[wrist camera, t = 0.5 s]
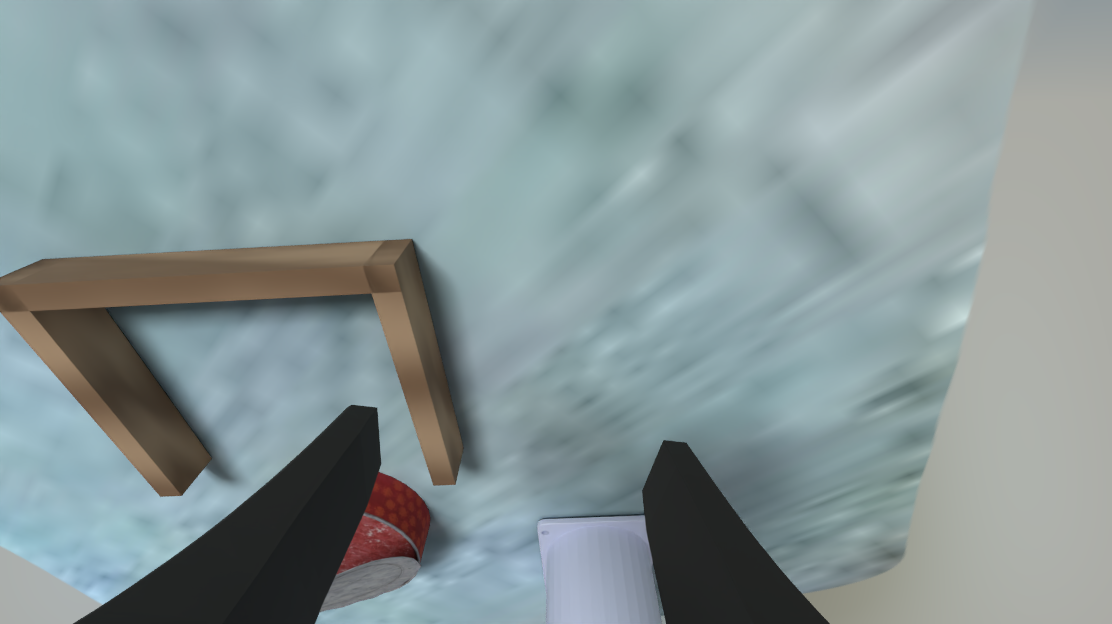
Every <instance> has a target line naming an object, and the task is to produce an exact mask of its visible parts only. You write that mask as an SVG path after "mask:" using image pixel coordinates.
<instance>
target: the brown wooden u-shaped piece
mask: <svg viewBox="0 0 1112 624" xmlns="http://www.w3.org/2000/svg"><path fill="white" fill-rule="evenodd" d="M370 293H372V297H373V300H374V303H375V306H376V309H377V312H378V315H379V318H380V321H381V324H382V327H383V331H384V334H385V337H386V340H387V343H388V346H389V349H390V352H391V355H392V358H393V362H394V365H395V368H396V371H397V374H398V377H399V380H400V383H401V386H402V389H403V392H404V396H405V399H406V402H407V405H408V408H409V411H410V414H411V417H412V420H413V423H414V427H415V430H416V433H417V436H418V439H419V442H420V445H421V448H422V451H423V454H424V457H425V461H426V464H427V467H428V470H429V473H430V476H431V479H432V482H433V485H456V480H457V476H458V471H459V466H460V462H461V457H462V453H463V444H462V440H461V436H460V431H459V427H458V423H457V419H456V415H455V411H454V407H453V403H452V399H451V395H450V391H449V387H448V383H447V379H446V375H445V371H444V367H443V363H442V359H441V355H440V351H439V347H438V343H437V339H436V335H435V330H434V326H433V322H432V318H431V314H430V310H429V306H428V302H427V298H426V294H425V290H424V286H423V282H422V278H421V274H420V270H419V266H418V262H417V258H416V254H415V250H414V246H413V242H412V239H404V240H386V241H368V242H350V243H331V244H313V245H295V246H277V247H258V248H240V249H222V250H204V251H185V252H167V253H149V254H131V255H112V256H94V257H76V258H58V259H42V260H40V261H37V262H35V263H33V264H30V265H28V266H26V267H23V268H21V269H19V270H16V271H14V272H12V273H9V274H7V275H5V276H2V277H0V312H1V313H2V314H3V316H4V317H5V318H6V319H7V320H8V321H9V322H10V324H11V325H12V326H13V327H14V328H15V329H16V331H17V332H18V333H19V334H20V335H21V336H22V337H23V339H24V340H25V341H26V342H27V343H28V344H29V346H30V347H31V348H32V349H33V350H34V351H35V352H36V354H37V355H38V356H39V357H40V358H41V359H42V361H43V362H44V363H45V364H46V365H47V366H48V367H49V369H50V370H51V371H52V372H53V373H54V374H55V376H56V377H57V378H58V379H59V380H60V381H61V382H62V384H63V385H64V386H65V387H66V388H67V389H68V391H69V392H70V393H71V394H72V395H73V396H74V397H75V399H76V400H77V401H78V402H79V403H80V404H81V406H82V407H83V408H84V409H85V410H86V411H87V412H88V414H89V415H90V416H91V417H92V418H93V419H94V421H95V422H96V423H97V424H98V425H99V426H100V427H101V429H102V430H103V431H104V432H105V433H106V434H107V436H108V437H109V438H110V439H111V440H112V441H113V442H114V444H115V445H116V446H117V447H118V448H119V449H120V451H121V452H122V453H123V454H124V455H125V456H126V457H127V459H128V460H129V461H130V462H131V463H132V464H133V466H134V467H135V468H136V469H137V470H138V471H139V472H140V474H141V475H142V476H143V477H144V478H145V479H146V481H147V482H148V483H149V484H150V485H151V486H152V487H153V489H154V490H155V491H156V492H157V493H158V494H159V496H160V497H163V496H182V495H183V494H184V492H185V491H186V490H187V489H188V487H189V486H190V485H191V484H192V483H193V481H194V480H195V479H196V478H197V476H198V475H199V474H200V473H201V472H202V470H203V469H204V468H205V467H206V465H207V464H208V463H209V462H210V460H211V459H212V458H211V457H210V455H209V454H208V452H207V451H206V450H205V448H204V447H203V445H202V444H201V443H200V441H199V440H198V438H197V437H196V436H195V434H194V433H193V431H192V430H191V429H190V427H189V426H188V424H187V423H186V422H185V420H184V419H183V417H182V416H181V414H180V413H179V412H178V410H177V409H176V407H175V406H174V405H173V403H172V402H171V400H170V399H169V398H168V396H167V395H166V393H165V392H164V391H163V389H162V388H161V386H160V385H159V384H158V382H157V381H156V379H155V378H154V377H153V375H152V374H151V372H150V371H149V370H148V368H147V367H146V365H145V364H144V363H143V361H142V360H141V358H140V357H139V356H138V354H137V353H136V351H135V350H134V349H133V347H132V346H131V344H130V343H129V342H128V340H127V339H126V337H125V336H124V334H123V333H122V332H121V330H120V329H119V327H118V326H117V325H116V323H115V322H114V320H113V319H112V318H111V316H110V315H109V313H108V312H107V311H106V309H105V308H104V307H119V306H139V305H158V304H177V303H197V302H216V301H235V300H255V299H274V298H293V297H312V296H332V295H351V294H370Z"/></svg>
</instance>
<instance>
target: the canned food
mask: <svg viewBox="0 0 1112 624" xmlns="http://www.w3.org/2000/svg"><path fill="white" fill-rule="evenodd" d="M429 526H430V514H429V510H428V508H427V506H426V504H425V502H424V501H423V500H422V498H421V497H420V496H419V495H418V494H417V493H416V492H415V491H414V490H412V489H411V488H410V487H408V486H407V485H406V484H404V483H402V482H400V481H399V480H397V479H395V478H393V477H391V476H388V475H386V474H383V473H380V472H378V475H377V478H376V481H375V485H374V488H373V491H372V494H371V496H370V499H369V502H368V505H367V508H366V510H365V512H364V514H363V517H362V519H361V521H360V523H359V526H358V528H357V530H356V532H355V534H354V537H353V539H352V541H351V543H350V545H349V548H348V550H347V552H346V554H345V556H344V559H343V561H342V563H341V565H340V567H339V570H338V572H337V574H336V576H335V578H334V581H333V583H332V585H331V587H330V589H329V592H328V594H327V596H326V598H325V600H324V603H323V605H322V607H321V610H320V612H322V611H325V610H330V609H336V608H341V607H345V606H347V605H350V604H353V603H356V602H358V601H363V600H367V599H371V598H374V597H377V596H379V595H381V594H383V593H386V592H390V591H393V590H396V589H398V588H401V587H402V586H404V585H405V584H407V583H409V582H410V581H411V580H412V579H413V578H414V577H415V576H416V574H417V572H418V570H419V568H420V567H421V565H420V562H421V558H422V554H423V550H424V546H425V542H426V538H427V534H428V530H429Z"/></svg>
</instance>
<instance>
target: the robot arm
mask: <svg viewBox="0 0 1112 624" xmlns="http://www.w3.org/2000/svg"><path fill="white" fill-rule="evenodd" d="M380 466H381V455H380V441H379V427H378V413H377V408H375V407H366V406H357V405H350V406H349V407H347V408H346V409H345V410H344V411H343V412H342V413H341V414H340V415H339V416H338V417H337V418H336V419H335V420H334V421H333V422H332V423H331V424H330V425H329V426H328V427H327V428H326V429H325V430H324V431H323V432H322V433H321V434H320V435H319V436H318V437H317V438H316V439H315V440H314V441H313V442H312V443H311V444H309V445H308V446H307V447H306V448H305V449H304V450H303V451H302V452H301V453H300V454H299V455H298V456H297V457H295V458H294V459H293V460H292V461H291V462H290V463H289V464H288V465H287V466H286V467H284V468H283V469H282V470H281V471H280V472H279V473H278V474H277V475H276V476H274V477H273V478H272V479H271V480H270V481H269V482H268V483H266V484H265V485H264V486H263V487H262V488H260V489H259V490H258V491H257V492H256V493H254V494H253V495H252V496H251V497H250V498H249V499H247V500H246V501H245V502H244V503H243V504H241V505H240V506H239V507H238V508H237V509H235V510H234V511H233V512H232V513H230V514H229V515H228V516H227V517H225V518H224V519H223V520H222V521H220V522H219V523H218V524H217V525H215V526H214V527H213V528H211V529H210V530H209V531H207V532H206V533H205V534H204V535H202V536H201V537H200V538H198V539H197V540H196V541H194V542H193V543H191V544H190V545H189V546H187V547H186V548H185V549H183V550H182V551H181V552H179V553H178V554H177V555H175V556H174V557H172V558H171V559H170V560H168V561H167V562H165V563H164V564H162V565H161V566H160V567H158V568H157V569H155V570H154V571H152V572H151V573H149V574H148V575H147V576H145V577H144V578H142V579H141V580H139V581H138V582H136V583H135V584H134V585H132V586H131V587H129V588H128V589H126V590H125V591H123V592H122V593H120V594H119V595H117V596H116V597H114V598H113V599H111V600H110V601H108V602H107V603H105V604H104V605H102V606H101V607H99V608H97V609H96V610H95V611H93V612H91V613H89V614H88V615H86V616H85V617H83V618H81V619H80V620H78V621H77V622H75V623H73V624H315V622H316V619H317V617H318V615H319V612H320V610H321V607H322V605H323V603H324V600H325V598H326V596H327V594H328V592H329V589H330V587H331V585H332V583H333V581H334V578H335V576H336V574H337V572H338V570H339V567H340V565H341V563H342V561H343V559H344V556H345V554H346V552H347V550H348V548H349V545H350V543H351V541H352V539H353V537H354V534H355V532H356V530H357V528H358V526H359V523H360V521H361V519H362V517H363V514H364V512H365V510H366V508H367V505H368V502H369V499H370V496H371V494H372V491H373V488H374V485H375V481H376V478H377V475H378V472H379V469H380ZM642 492H643V503H644V514H645V515H639V516H613V517H587V518H561V519H542V520H540V521H539V522H538V524H537V530H538V537H539V544H540V552H541V559H542V567H543V574H544V582H545V589H546V624H662V621H661V616H660V611H659V605H658V600H657V594H656V589H655V584H654V578H653V573H652V565H654V570H655V574H656V579H657V583H658V588H659V593H660V597H661V602H662V606H663V611H664V615H665V620H666V624H829V622H828V621H827V620H826V619H825V618H824V617H823V616H822V615H821V614H820V613H819V612H818V611H817V610H816V609H815V608H814V607H813V605H812V604H811V603H810V602H809V601H808V600H807V599H806V598H805V597H804V595H803V594H802V593H801V592H800V591H799V590H798V589H797V588H796V587H795V586H794V584H793V583H792V582H791V581H790V580H789V579H788V578H787V576H786V575H785V574H784V573H783V572H782V571H781V569H780V568H779V567H778V566H777V565H776V563H775V562H774V561H773V560H772V558H771V557H770V556H769V555H768V554H767V552H766V551H765V550H764V549H763V547H762V546H761V545H760V544H759V542H758V541H757V540H756V539H755V537H754V536H753V535H752V533H751V532H750V531H749V530H748V528H747V527H746V526H745V524H744V523H743V522H742V520H741V519H740V518H739V516H738V515H737V513H736V512H735V511H734V509H733V508H732V507H731V505H730V504H729V503H728V501H727V500H726V499H725V497H724V496H723V494H722V493H721V492H720V490H719V489H718V487H717V486H716V484H715V483H714V482H713V480H712V479H711V477H710V476H709V474H708V473H707V472H706V470H705V469H704V467H703V466H702V464H701V463H700V462H699V460H698V459H697V457H696V456H695V454H694V453H693V452H692V450H691V449H690V447H689V446H688V444H687V443H684V442H675V441H666V440H663V443H662V445H661V447H660V450H659V452H658V455H657V457H656V459H655V462H654V464H653V466H652V469H651V471H650V474H649V476H648V478H647V481H646V483H645V485H644V488H643V490H642Z"/></svg>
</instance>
